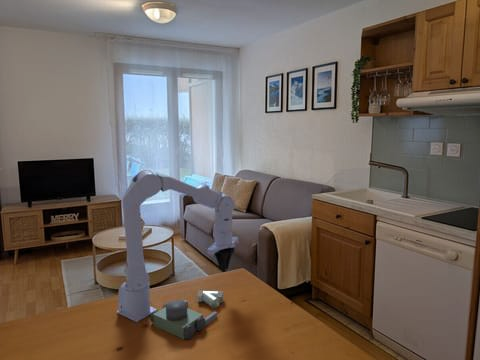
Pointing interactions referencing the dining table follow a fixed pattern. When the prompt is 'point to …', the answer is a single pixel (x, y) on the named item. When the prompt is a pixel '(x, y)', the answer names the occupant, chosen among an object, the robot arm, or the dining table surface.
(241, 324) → the dining table surface
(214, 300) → the pipe fitting
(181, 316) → the grey-green knobbed block
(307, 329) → the dining table surface
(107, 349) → the dining table surface
